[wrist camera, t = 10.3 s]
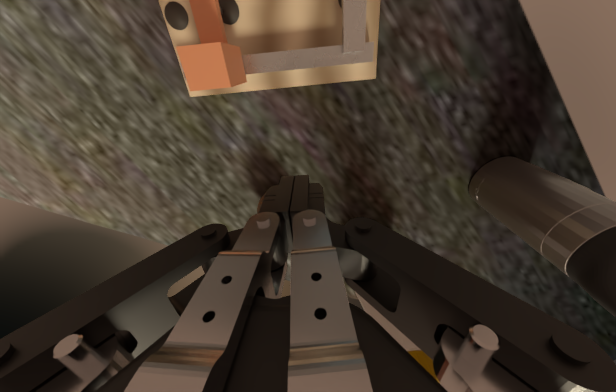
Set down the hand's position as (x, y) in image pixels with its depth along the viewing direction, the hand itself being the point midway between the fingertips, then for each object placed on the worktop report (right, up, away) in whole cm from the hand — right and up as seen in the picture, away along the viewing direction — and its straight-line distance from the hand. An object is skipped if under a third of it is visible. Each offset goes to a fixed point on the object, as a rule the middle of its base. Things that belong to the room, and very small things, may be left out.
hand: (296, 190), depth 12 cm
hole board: (-3, +20, +15) cm, 25 cm away
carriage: (-9, +18, +14) cm, 25 cm away
